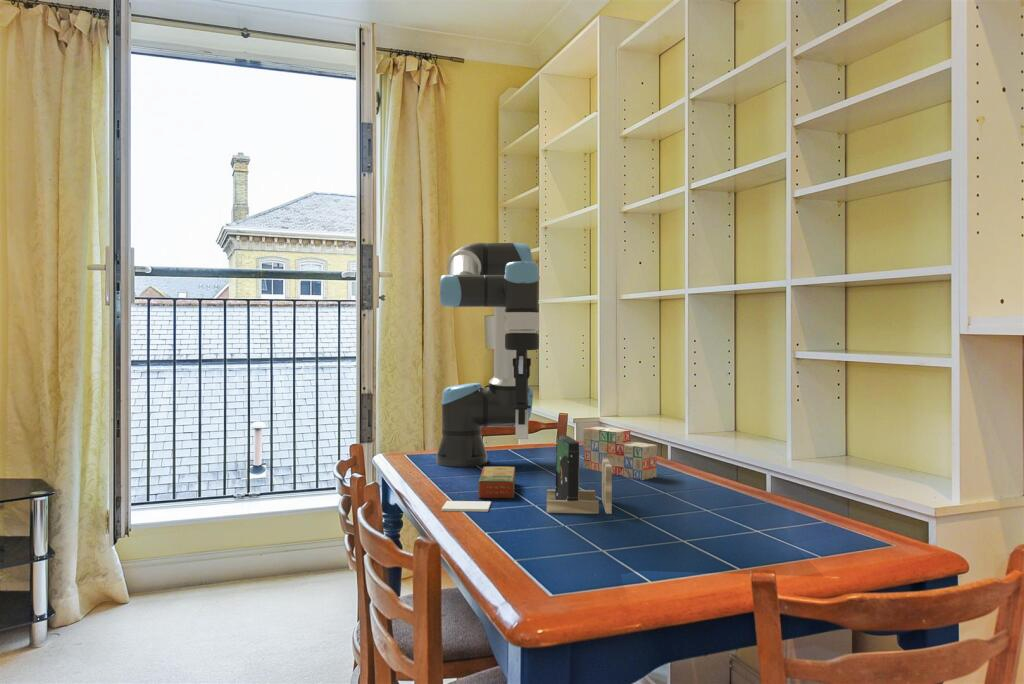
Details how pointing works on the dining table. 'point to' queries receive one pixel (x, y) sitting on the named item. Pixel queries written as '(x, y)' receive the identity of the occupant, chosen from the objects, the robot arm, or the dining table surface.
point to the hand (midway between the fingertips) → (521, 438)
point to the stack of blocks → (619, 453)
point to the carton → (497, 482)
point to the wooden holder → (585, 496)
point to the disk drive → (567, 468)
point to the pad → (467, 506)
